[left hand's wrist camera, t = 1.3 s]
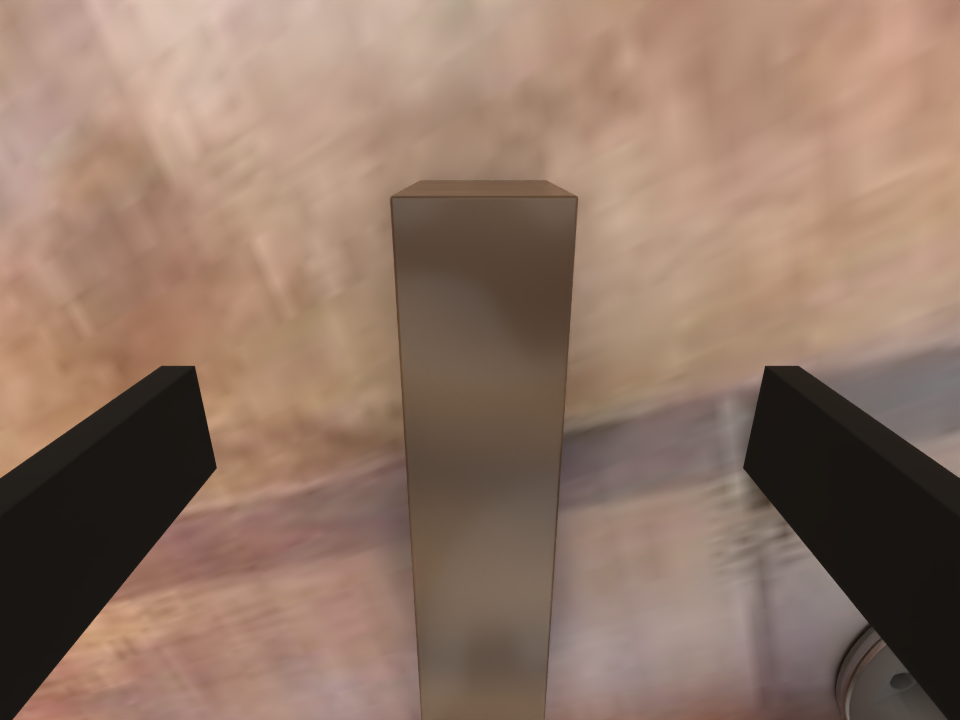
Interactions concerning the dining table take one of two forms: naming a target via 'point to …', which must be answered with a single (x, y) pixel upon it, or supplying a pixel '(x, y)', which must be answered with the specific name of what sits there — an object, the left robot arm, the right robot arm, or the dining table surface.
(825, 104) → the dining table surface
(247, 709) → the dining table surface
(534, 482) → the bar
